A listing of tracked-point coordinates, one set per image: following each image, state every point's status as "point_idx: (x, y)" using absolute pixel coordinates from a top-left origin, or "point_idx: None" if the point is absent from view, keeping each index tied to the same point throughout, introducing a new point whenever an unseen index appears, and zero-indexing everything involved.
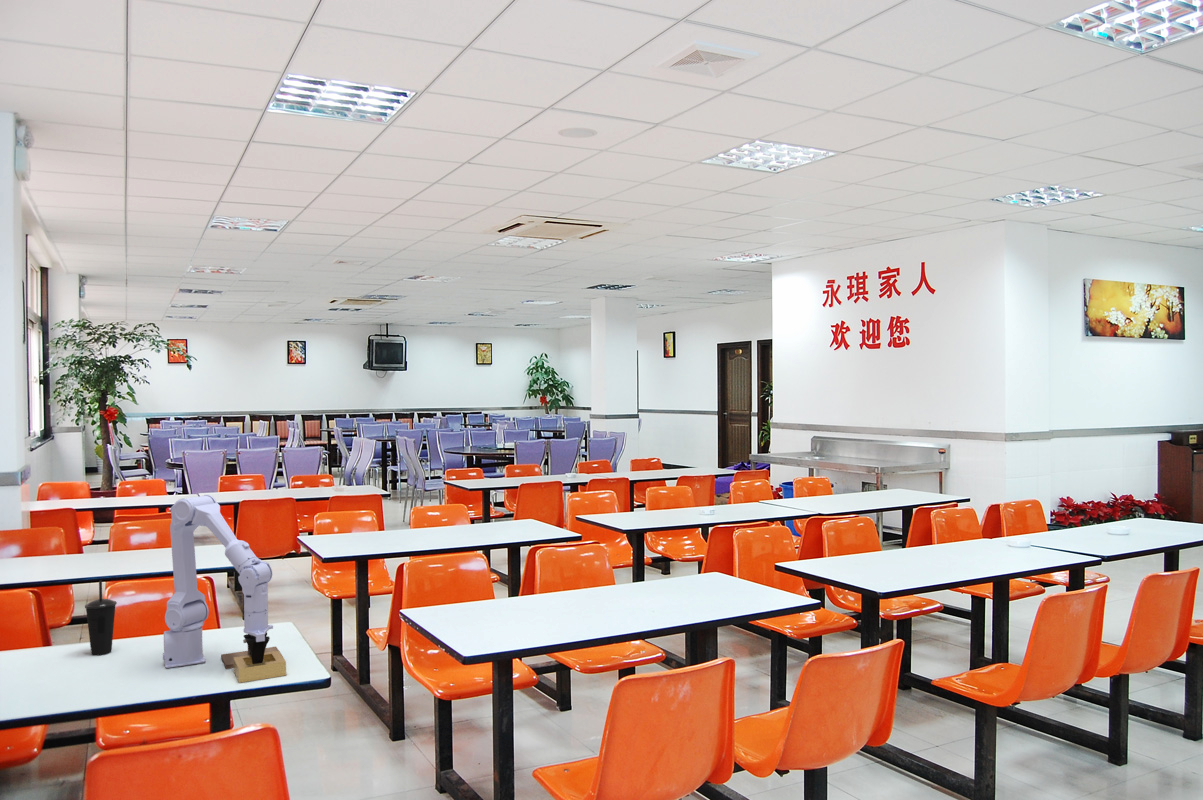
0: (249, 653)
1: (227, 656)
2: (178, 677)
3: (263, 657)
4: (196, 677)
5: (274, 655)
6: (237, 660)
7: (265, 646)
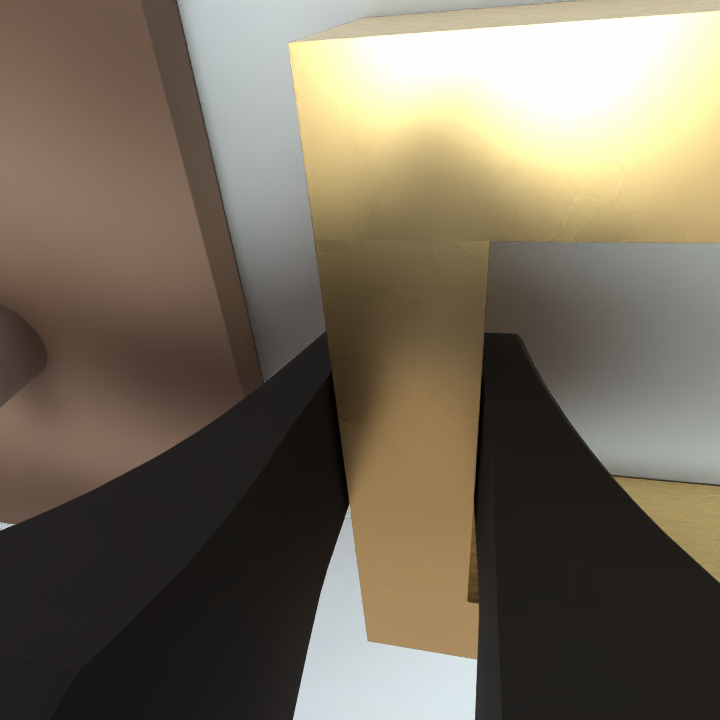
0: (18, 388)
1: (19, 499)
2: (355, 707)
3: (538, 378)
4: (414, 670)
5: (696, 207)
6: None
7: (694, 567)
